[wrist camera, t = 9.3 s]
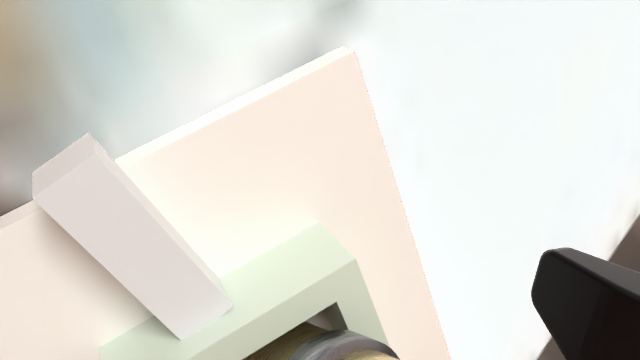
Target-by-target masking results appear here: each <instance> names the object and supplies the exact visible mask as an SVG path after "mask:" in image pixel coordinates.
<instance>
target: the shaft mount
mask: <svg viewBox="0 0 640 360" xmlns="http://www.w3.org/2000/svg"><path fill="white" fill-rule="evenodd" d="M32 199H33V201H31V202H29V203H27V204H25V205H23V206H21V207H19V208H17V209H15V210H13V211H11V212H9V213H7V214H5V215H3V216H1V217H0V360H242V359H244V358H245V357H247V356H249V355H250V354H252V353H254V352H255V351H257V350H258V349H260V348H262V347H263V346H265V345H267V344H268V343H270V342H271V341H273V340H275V339H276V338H278V337H280V336H281V335H283V334H285V333H286V332H288V331H289V330H291V329H293V328H294V327H296V326H298V325H299V324H301V323H302V322H304V321H306V322H309V323H311V324H313V325H316V326H318V327H321V328H323V329H326V330H328V331H331V330H338V329H340V330H350V331H354V332H356V333H359V334H362V335H364V336H367V337H369V338H372V339H374V340H377V341H379V342H381V343H384V344H386V345H387V346H388V347H390V348H391V349H392V350H393V351H394V352H395V353H396V354H397V356H398V357H399V359H400V360H451V359H450V355H449V352H448V349H447V346H446V343H445V339H444V336H443V333H442V330H441V326H440V323H439V320H438V317H437V314H436V310H435V307H434V304H433V301H432V297H431V294H430V291H429V288H428V285H427V281H426V278H425V275H424V272H423V268H422V265H421V262H420V259H419V256H418V252H417V249H416V246H415V243H414V239H413V236H412V233H411V230H410V227H409V223H408V220H407V217H406V214H405V210H404V207H403V204H402V201H401V198H400V194H399V191H398V188H397V185H396V181H395V178H394V175H393V172H392V169H391V165H390V162H389V159H388V156H387V153H386V149H385V146H384V143H383V140H382V136H381V133H380V130H379V127H378V124H377V120H376V117H375V114H374V111H373V107H372V104H371V101H370V98H369V95H368V91H367V88H366V85H365V82H364V78H363V75H362V72H361V69H360V66H359V62H358V59H357V56H356V53H355V51H354V50H352V49H349V48H346V47H344V46H341V47H339V48H337V49H335V50H333V51H331V52H329V53H327V54H325V55H323V56H321V57H319V58H317V59H315V60H313V61H311V62H309V63H307V64H305V65H303V66H301V67H299V68H297V69H295V70H293V71H291V72H289V73H287V74H285V75H283V76H281V77H279V78H277V79H275V80H273V81H271V82H269V83H267V84H265V85H263V86H261V87H259V88H257V89H255V90H253V91H251V92H249V93H247V94H245V95H243V96H241V97H239V98H237V99H235V100H233V101H231V102H229V103H227V104H225V105H223V106H221V107H219V108H217V109H215V110H213V111H211V112H209V113H207V114H205V115H203V116H201V117H199V118H197V119H195V120H193V121H191V122H189V123H187V124H185V125H183V126H181V127H179V128H177V129H175V130H173V131H171V132H169V133H167V134H165V135H163V136H161V137H159V138H157V139H155V140H153V141H151V142H149V143H147V144H145V145H143V146H141V147H139V148H137V149H135V150H133V151H131V152H129V153H127V154H125V155H123V156H121V157H119V158H117V159H115V160H113V159H112V158H111V157H110V155H109V154H108V153H107V152H106V151H105V150H104V149H103V148H102V146H101V145H100V144H99V143H98V142H97V141H96V140H95V139H94V137H93V136H92V135H91V134H90V133H89V132H88V133H87V134H85V135H84V136H82V137H81V138H80V139H78V140H77V141H75V142H74V143H73V144H71V145H70V146H68V147H67V148H66V149H64V150H63V151H61V152H60V153H59V154H57V155H56V156H54V157H53V158H52V159H50V160H49V161H47V162H46V163H44V164H43V165H42V166H40V167H39V168H37V169H36V170H35V171H33V172H32Z"/></svg>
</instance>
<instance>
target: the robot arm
mask: <svg viewBox="0 0 640 360" xmlns="http://www.w3.org/2000/svg"><path fill="white" fill-rule="evenodd" d="M531 297H532V302H533V305H534V306H535V308H536V310H537V312H538V313H539V315H540V317H541V318H542V320H543V322H544V323H545V325H546V327H547V329H548V330H549V332H550V334H551V335H552V337H553V339H554V340H555V342H556V344H557V345H558V347H559V349H560V350H561V352H562V354H563V355H564V357H565V359H566V360H640V273H639V272H636V271H633V270H631V269H628V268H625V267H622V266H619V265H617V264H614V263H611V262H608V261H606V260H603V259H600V258H597V257H594V256H592V255H589V254H586V253H583V252H580V251H578V250H575V249H572V248H558V249H551V250H547V251H545V252H544V253H543V255H542V256H541V258H540V261H539V265H538V268H537V272H536V275H535V279H534V283H533V286H532V290H531Z"/></svg>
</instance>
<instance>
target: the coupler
mask: <svg viewBox="0 0 640 360" xmlns="http://www.w3.org/2000/svg"><path fill="white" fill-rule="evenodd" d="M242 360H400V359H399V357H398V356H397V354H396V353H395V352H394V351H393V350H392V349H391V348H390V347H388V346H387V345H386V344H384V343H381V342H379V341H377V340H374V339H372V338H369V337H367V336H364V335H362V334H359V333H356V332H354V331H350V330H340V329H338V330H331V331H328V330H326V329H323V328H321V327H318V326H316V325H313V324H311V323H309V322H306V321H304V322H302V323H301V324H299V325H298V326H296V327H294V328H293V329H291V330H289V331H288V332H286V333H285V334H283V335H281V336H280V337H278V338H276V339H275V340H273V341H271V342H270V343H268V344H267V345H265V346H263V347H262V348H260V349H258V350H257V351H255V352H254V353H252V354H250V355H249V356H247V357H245V358H244V359H242Z"/></svg>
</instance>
